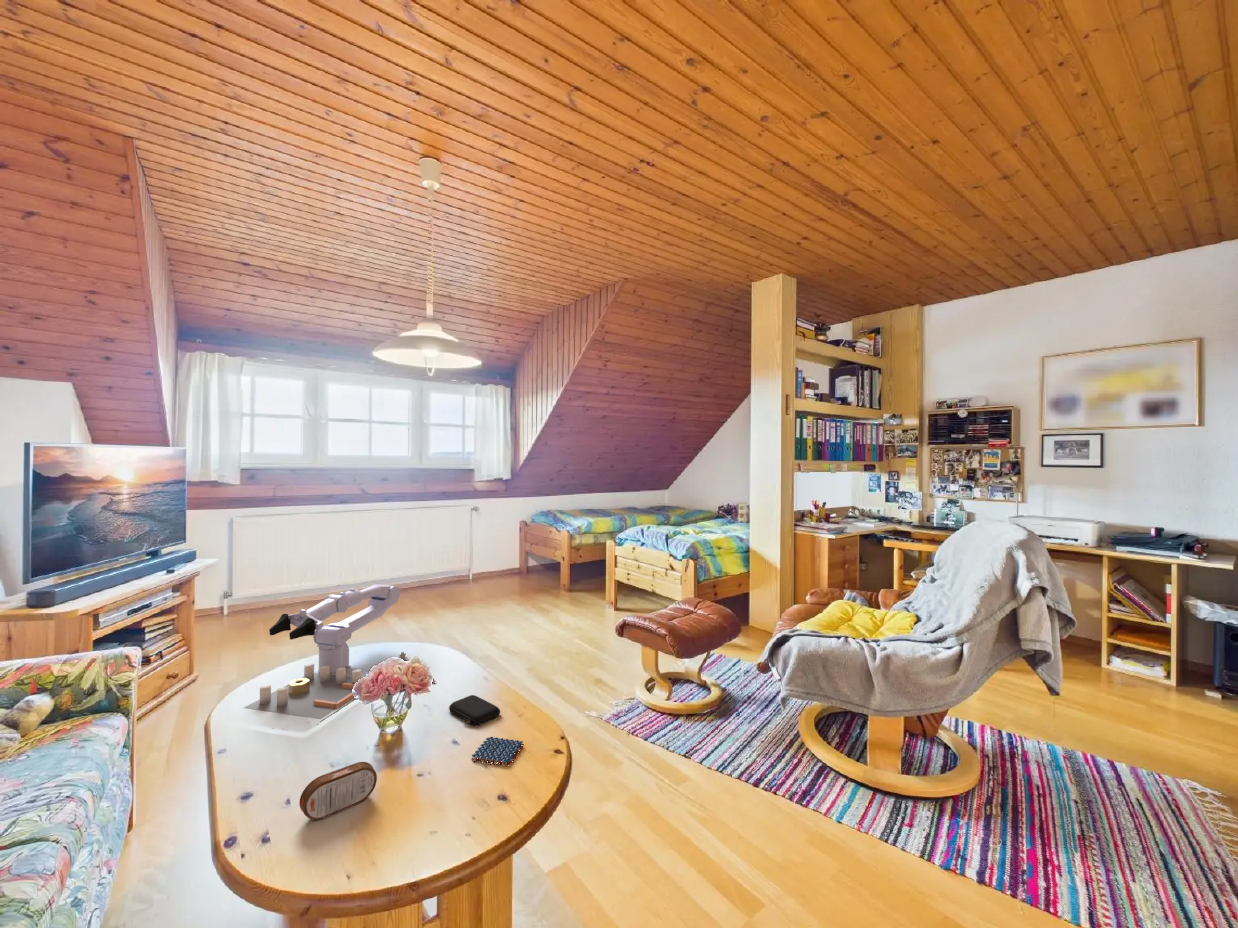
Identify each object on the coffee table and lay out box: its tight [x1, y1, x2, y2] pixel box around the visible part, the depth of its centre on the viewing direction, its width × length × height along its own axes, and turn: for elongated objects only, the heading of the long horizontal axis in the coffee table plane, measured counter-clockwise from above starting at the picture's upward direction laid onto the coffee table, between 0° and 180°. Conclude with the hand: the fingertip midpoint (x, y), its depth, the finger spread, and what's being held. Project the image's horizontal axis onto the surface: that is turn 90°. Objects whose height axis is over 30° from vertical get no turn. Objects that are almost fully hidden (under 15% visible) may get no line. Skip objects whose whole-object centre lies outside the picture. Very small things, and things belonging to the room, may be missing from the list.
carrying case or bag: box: [448, 694, 501, 726], centre depth 158 cm, size 11×3×15 cm
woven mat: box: [471, 736, 525, 766], centre depth 138 cm, size 10×11×2 cm
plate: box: [243, 663, 363, 723], centre depth 167 cm, size 26×26×6 cm
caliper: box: [398, 651, 437, 685], centre depth 184 cm, size 20×1×6 cm, turn 55°
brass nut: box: [288, 677, 310, 695], centre depth 168 cm, size 6×5×3 cm
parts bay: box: [314, 683, 355, 709], centre depth 165 cm, size 13×8×1 cm, turn 168°
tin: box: [298, 761, 378, 821], centre depth 116 cm, size 15×3×8 cm, turn 135°
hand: (280, 634), depth 166 cm, fingers open, 7 cm apart
